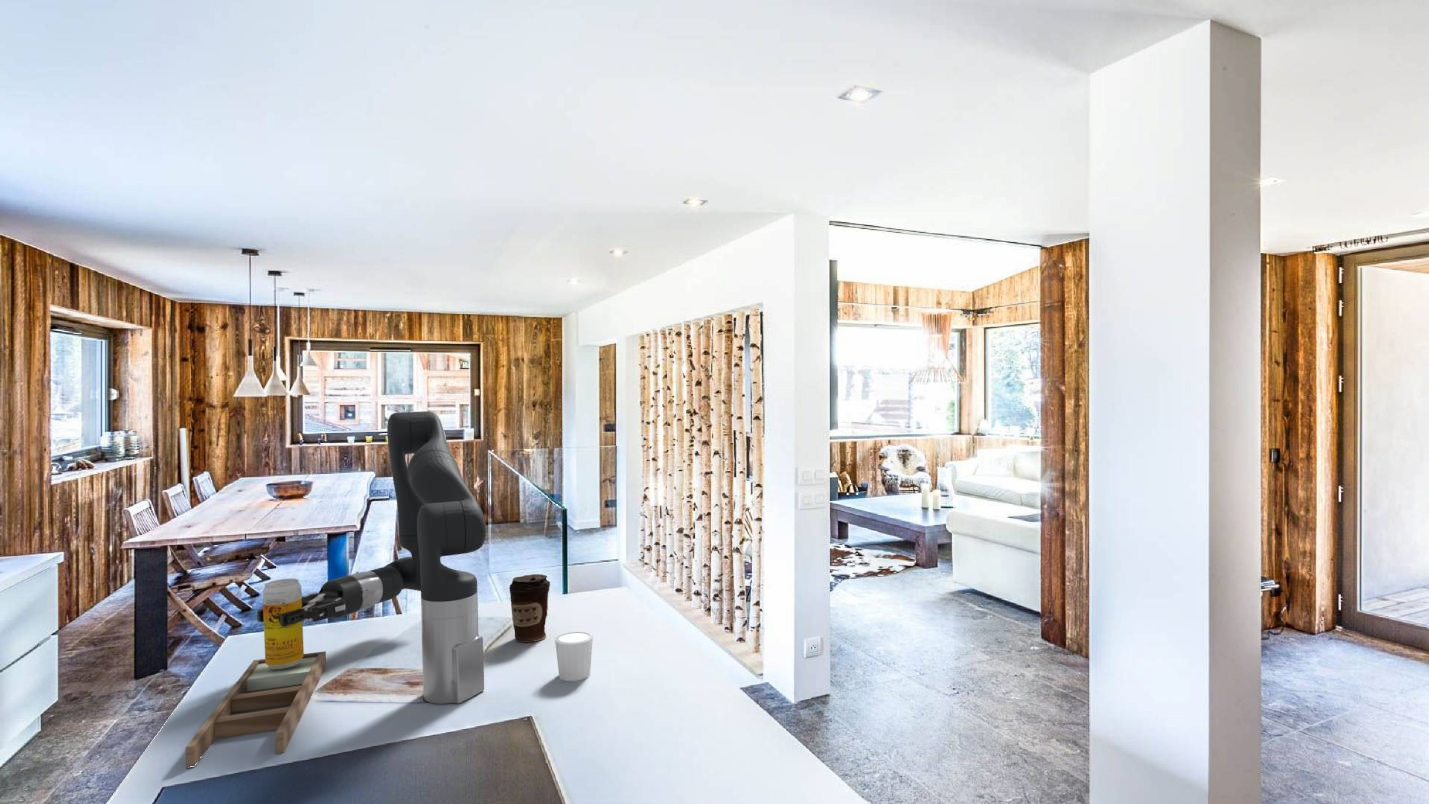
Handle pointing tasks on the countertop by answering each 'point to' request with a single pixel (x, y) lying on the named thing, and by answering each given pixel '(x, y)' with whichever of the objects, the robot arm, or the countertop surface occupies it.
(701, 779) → the countertop surface
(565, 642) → the white cup
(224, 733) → the brown wooden flat frame
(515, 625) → the coffee cup
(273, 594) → the beer can
